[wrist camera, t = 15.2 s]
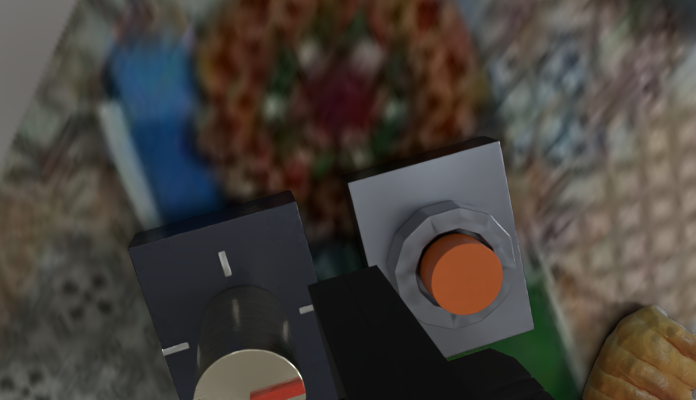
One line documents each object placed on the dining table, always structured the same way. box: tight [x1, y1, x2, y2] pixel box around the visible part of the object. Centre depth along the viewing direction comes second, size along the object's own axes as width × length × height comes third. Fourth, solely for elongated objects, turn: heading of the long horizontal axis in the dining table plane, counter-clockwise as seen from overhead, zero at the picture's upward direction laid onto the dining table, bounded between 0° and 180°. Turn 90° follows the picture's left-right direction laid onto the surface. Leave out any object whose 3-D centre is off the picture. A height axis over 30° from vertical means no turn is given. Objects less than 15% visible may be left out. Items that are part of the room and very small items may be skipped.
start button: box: [420, 233, 503, 315], centre depth 36 cm, size 4×4×2 cm
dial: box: [193, 286, 306, 400], centre depth 32 cm, size 5×5×8 cm
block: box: [341, 136, 534, 358], centre depth 38 cm, size 12×9×4 cm
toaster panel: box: [128, 191, 338, 400], centre depth 37 cm, size 12×9×3 cm
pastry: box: [582, 305, 696, 400], centre depth 43 cm, size 9×7×4 cm
